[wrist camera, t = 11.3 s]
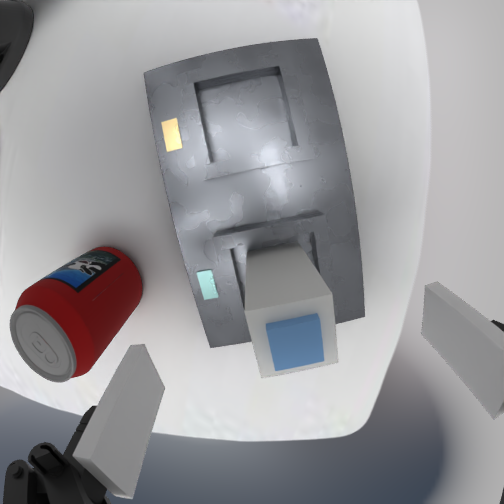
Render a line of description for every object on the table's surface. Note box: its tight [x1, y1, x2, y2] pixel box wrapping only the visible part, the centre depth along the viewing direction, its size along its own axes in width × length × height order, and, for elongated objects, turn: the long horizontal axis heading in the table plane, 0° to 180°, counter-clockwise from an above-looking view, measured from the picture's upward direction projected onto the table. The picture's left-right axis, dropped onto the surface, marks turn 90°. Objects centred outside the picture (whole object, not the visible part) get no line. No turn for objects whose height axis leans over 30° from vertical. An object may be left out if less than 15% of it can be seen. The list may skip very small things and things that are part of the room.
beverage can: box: [10, 247, 142, 382], centre depth 19 cm, size 7×7×12 cm
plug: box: [244, 241, 338, 378], centre depth 18 cm, size 4×4×11 cm
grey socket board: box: [144, 38, 365, 348], centre depth 21 cm, size 24×14×4 cm, turn 12°
